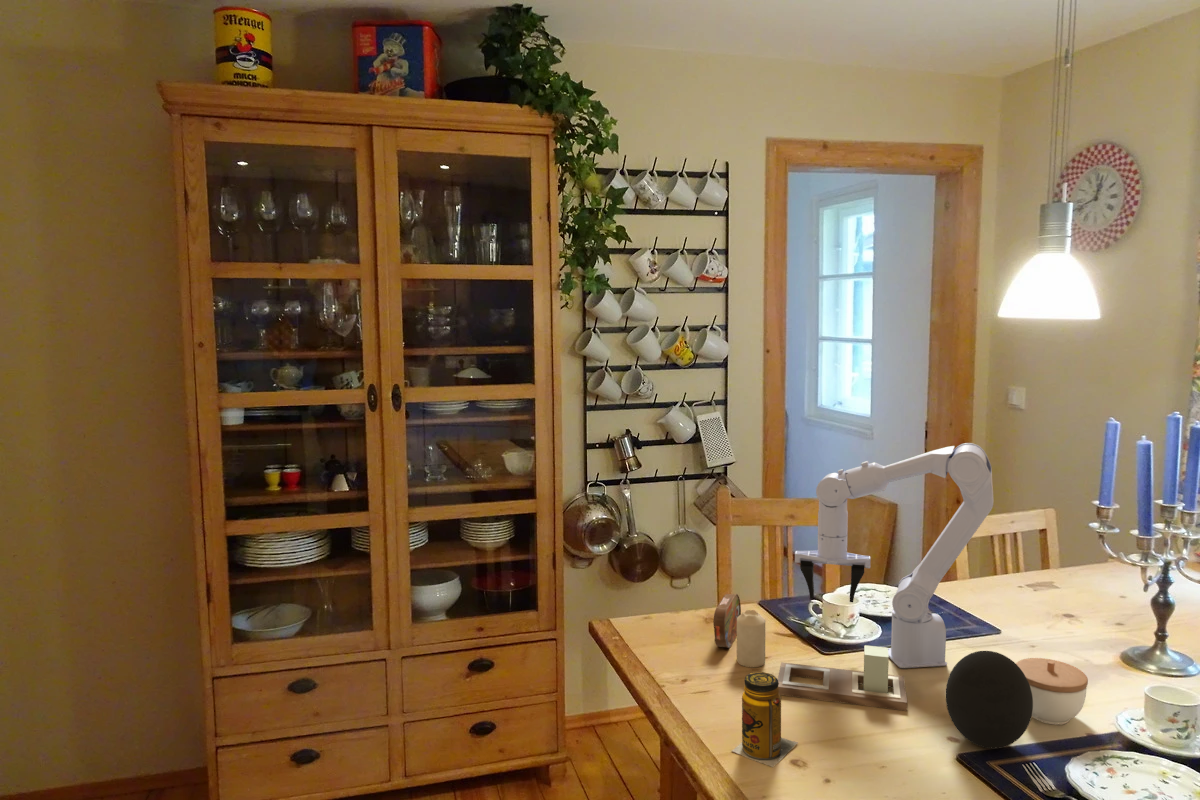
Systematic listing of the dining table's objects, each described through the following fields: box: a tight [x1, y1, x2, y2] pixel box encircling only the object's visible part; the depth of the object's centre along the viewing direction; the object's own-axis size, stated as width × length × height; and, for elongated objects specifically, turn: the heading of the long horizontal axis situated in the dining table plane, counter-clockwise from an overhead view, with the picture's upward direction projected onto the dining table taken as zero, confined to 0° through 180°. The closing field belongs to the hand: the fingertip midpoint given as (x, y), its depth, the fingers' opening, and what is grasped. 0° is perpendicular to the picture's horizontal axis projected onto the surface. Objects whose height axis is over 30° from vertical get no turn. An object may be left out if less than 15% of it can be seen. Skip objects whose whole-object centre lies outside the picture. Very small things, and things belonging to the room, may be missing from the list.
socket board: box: [777, 661, 908, 712], centre depth 146 cm, size 22×10×2 cm, turn 73°
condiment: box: [730, 671, 799, 768], centre depth 127 cm, size 7×8×12 cm
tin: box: [712, 593, 742, 649], centre depth 168 cm, size 15×3×8 cm, turn 158°
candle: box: [736, 609, 766, 668], centre depth 157 cm, size 6×6×10 cm
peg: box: [862, 644, 890, 694], centre depth 144 cm, size 4×4×8 cm
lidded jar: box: [1015, 657, 1089, 726], centre depth 135 cm, size 11×11×9 cm
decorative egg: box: [945, 650, 1033, 749], centre depth 127 cm, size 12×12×15 cm
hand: (831, 598), depth 163 cm, fingers open, 7 cm apart
